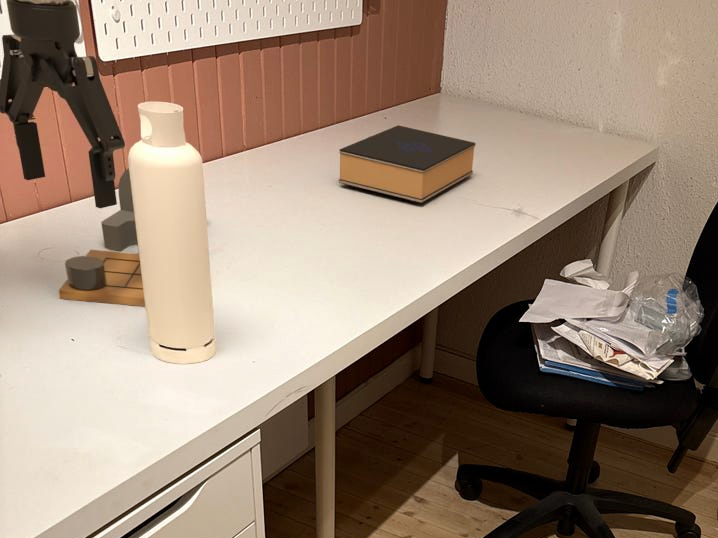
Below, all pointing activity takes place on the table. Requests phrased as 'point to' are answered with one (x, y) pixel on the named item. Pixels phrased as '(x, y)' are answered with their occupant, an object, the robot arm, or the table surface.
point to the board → (113, 281)
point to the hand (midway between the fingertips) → (70, 191)
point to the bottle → (172, 236)
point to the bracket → (121, 219)
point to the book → (406, 163)
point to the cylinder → (85, 273)
